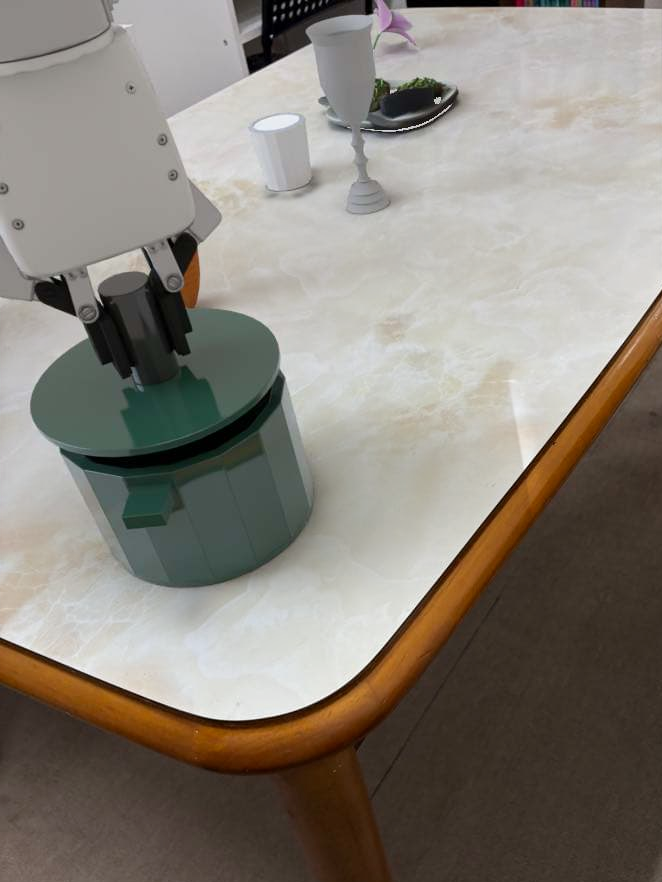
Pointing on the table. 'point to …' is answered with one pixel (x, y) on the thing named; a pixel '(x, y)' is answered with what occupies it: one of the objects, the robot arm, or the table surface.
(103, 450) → the lid
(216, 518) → the pot
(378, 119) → the salad plate
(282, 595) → the table surface
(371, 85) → the chalice
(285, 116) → the shot glass
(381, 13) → the lily
